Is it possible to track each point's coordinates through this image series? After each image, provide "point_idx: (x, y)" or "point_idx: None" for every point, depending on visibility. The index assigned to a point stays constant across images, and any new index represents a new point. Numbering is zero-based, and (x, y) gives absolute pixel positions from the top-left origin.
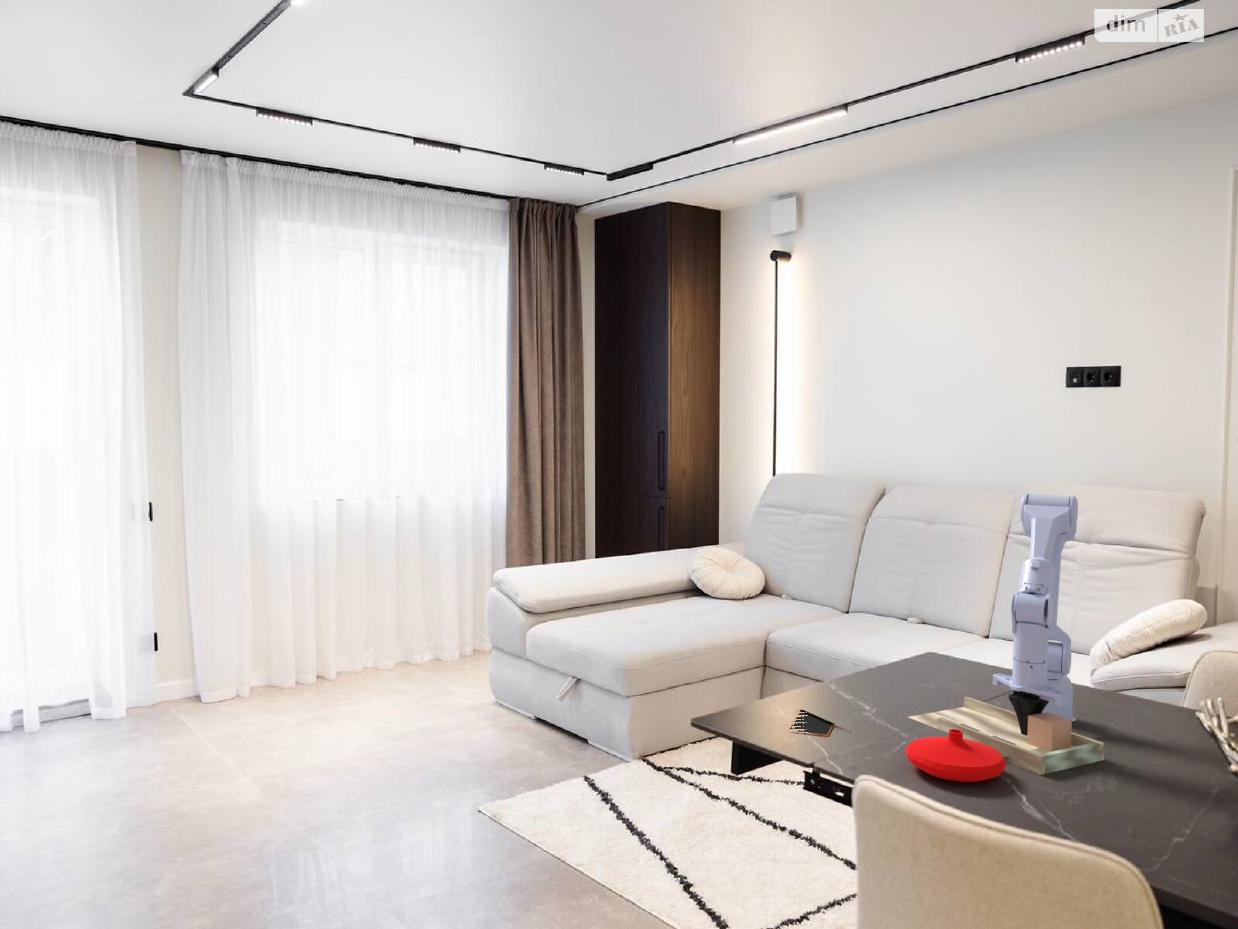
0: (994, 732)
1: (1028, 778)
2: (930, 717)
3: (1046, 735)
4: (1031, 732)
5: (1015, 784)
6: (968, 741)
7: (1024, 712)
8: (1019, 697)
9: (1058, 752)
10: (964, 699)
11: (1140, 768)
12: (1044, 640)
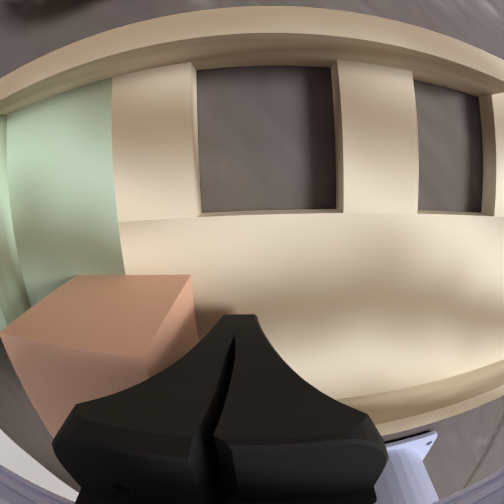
0: (375, 254)
1: (15, 56)
2: None
3: (62, 302)
4: (149, 301)
5: (19, 5)
6: None
7: (189, 377)
8: (176, 464)
9: None
10: None
11: (24, 393)
12: None
